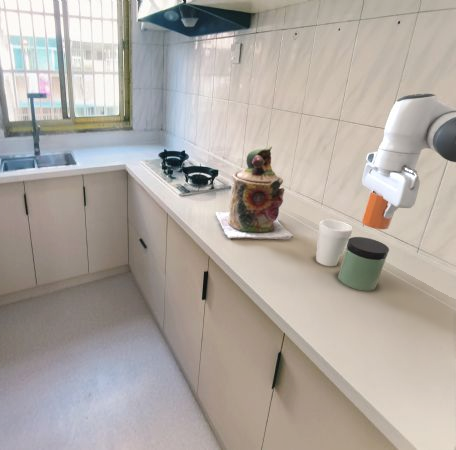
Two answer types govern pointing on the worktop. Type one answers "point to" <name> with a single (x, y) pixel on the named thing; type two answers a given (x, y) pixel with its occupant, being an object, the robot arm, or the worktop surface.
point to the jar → (360, 271)
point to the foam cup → (332, 241)
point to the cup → (376, 212)
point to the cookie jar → (255, 201)
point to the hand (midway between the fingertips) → (378, 212)
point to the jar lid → (367, 248)
